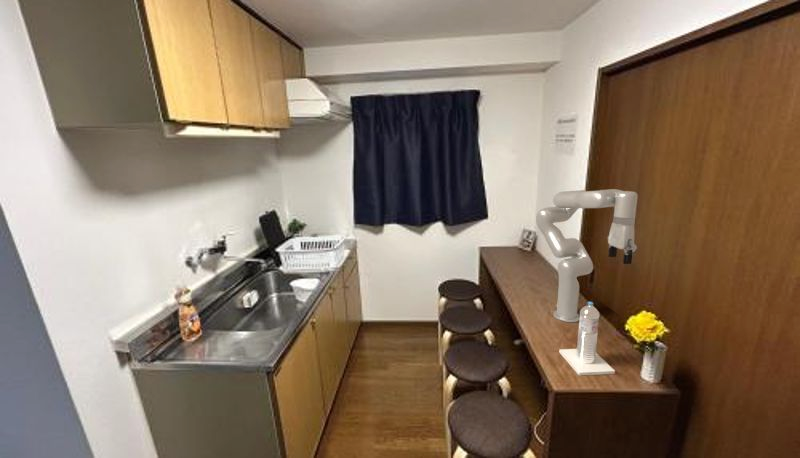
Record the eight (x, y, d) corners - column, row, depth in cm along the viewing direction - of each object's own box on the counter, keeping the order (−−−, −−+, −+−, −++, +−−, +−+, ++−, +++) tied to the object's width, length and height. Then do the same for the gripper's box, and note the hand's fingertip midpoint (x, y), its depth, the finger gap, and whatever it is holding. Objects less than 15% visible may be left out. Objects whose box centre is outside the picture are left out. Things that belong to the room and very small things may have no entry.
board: (559, 352, 147) (559, 349, 147) (591, 350, 147) (591, 348, 147) (579, 375, 132) (579, 372, 131) (614, 373, 132) (615, 371, 132)
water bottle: (588, 354, 143) (594, 298, 138) (598, 363, 136) (604, 305, 131) (572, 354, 143) (577, 299, 137) (581, 364, 136) (587, 306, 131)
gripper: (602, 217, 151) (598, 254, 155) (628, 225, 134) (624, 266, 138) (619, 217, 151) (615, 254, 155) (647, 224, 134) (642, 266, 138)
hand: (619, 260), depth 146 cm, fingers open, 9 cm apart
